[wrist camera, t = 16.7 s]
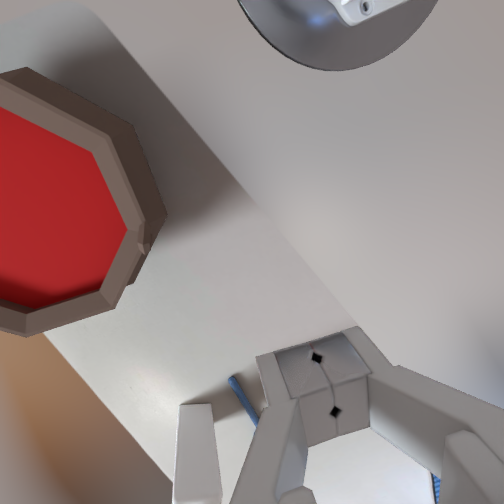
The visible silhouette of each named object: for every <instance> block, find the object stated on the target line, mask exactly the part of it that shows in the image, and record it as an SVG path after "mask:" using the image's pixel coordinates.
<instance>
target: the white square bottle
mask: <svg viewBox="0 0 504 504" xmlns="http://www.w3.org/2000/svg"><path fill="white" fill-rule="evenodd" d="M222 496H223V493H222V485H221V477H220V469H219V462H218V454H217V446H216V438H215V430H214V422H213V415H212V407H211V404H210V403H209V404H191V405H180V406H179V407H178V421H177V435H176V450H175V465H174V480H173V496H172V504H221V502H222Z"/></svg>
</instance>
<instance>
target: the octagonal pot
mask: <svg viewBox="0 0 504 504" xmlns="http://www.w3.org/2000/svg"><path fill="white" fill-rule="evenodd" d="M167 215H168V214H167V211H166V209H165V206H164V204H163V201H162V198H161V196H160V193H159V191H158V188H157V186H156V183H155V181H154V178H153V176H152V173H151V171H150V168H149V165H148V163H147V160H146V158H145V155H144V153H143V150H142V148H141V145H140V143H139V140H138V138H137V135H136V132H135V130H134V127H133V125H131V124H129V123H127V122H126V121H124V120H122V119H120V118H118V117H116V116H115V115H113V114H111V113H109V112H107V111H106V110H104V109H102V108H100V107H98V106H97V105H95V104H93V103H91V102H89V101H88V100H86V99H84V98H82V97H80V96H79V95H77V94H75V93H73V92H71V91H69V90H68V89H66V88H64V87H62V86H60V85H59V84H57V83H55V82H53V81H51V80H50V79H48V78H46V77H44V76H42V75H41V74H39V73H37V72H35V71H33V70H32V69H30V68H28V67H24V68H20V69H16V70H12V71H9V72H5V73H1V74H0V330H1V331H4V332H8V333H11V334H15V335H19V336H23V337H29V336H32V335H35V334H38V333H42V332H45V331H48V330H51V329H54V328H57V327H60V326H63V325H66V324H69V323H72V322H75V321H79V320H82V319H85V318H88V317H91V316H94V315H97V314H100V313H103V312H106V311H109V310H112V309H115V307H116V305H117V303H118V301H119V299H120V297H121V295H122V293H123V291H124V289H125V287H126V286H128V285H130V284H133V283H134V282H135V280H136V278H137V275H138V273H139V271H140V269H141V267H142V265H143V263H144V261H145V259H146V257H147V255H148V253H149V251H150V250H151V247H152V245H153V243H154V241H155V239H156V237H157V235H158V233H159V231H160V229H161V227H162V225H163V223H164V221H165V219H166V217H167Z"/></svg>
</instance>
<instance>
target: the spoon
mask: <svg viewBox="0 0 504 504" xmlns="http://www.w3.org/2000/svg"><path fill="white" fill-rule="evenodd" d="M228 381H229V384H230V385H231V387H232V389H233V390H234V392H235V393H236V395H237V397H238V398H239V400H240V402H241V403H242V405H243V406H244V408H245V410H246V411H247V413H248V415H249V416H250V418H251V420H252V421H253V423H254V424H255V426H256V428H257V425H258V422H259V418H258V416H257V415H256V413H255V411H254V410H253V408H252V406H251V405H250V403H249V401H248V400H247V398H246V396H245V395H244V393H243V391H242V390H241V388H240V386H239V385H238V383H237V381H236V379H235V378H234V377H230V378H229V380H228ZM254 434H255V432H254Z"/></svg>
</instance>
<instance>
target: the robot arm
mask: <svg viewBox="0 0 504 504" xmlns="http://www.w3.org/2000/svg"><path fill="white" fill-rule="evenodd" d="M328 1H329V2H331V3H332V4H333V5H334V6H335V8H336V10H337V11H338V13H339V14H340V16H341V17H342V19H343V20H344V21H345V22H346V23H347V24H348V25H350V26H356V25H358V24H360V23H362V22H365V21H367V20H369V19H371V18H373V17H375V16H377V15H380V14H382V13H384V12H386V11H388V10H390V9H392V8H395V7H397V6H399V5H401V4H403V3H405V2H408V1H410V0H328ZM363 4H364V5H365V6H366V11H364V10H363V8H362V6H363ZM256 363H257V367H258V371H259V374H260V378H261V382H262V386H263V390H264V394H265V397H266V401H267V405H268V407H266V408H263V411H262V414H261V417H260V420H259V422H258V425H257V428H256V431H255V434H254V436H253V439H252V442H251V445H250V448H249V450H248V453H247V456H246V459H245V462H244V464H243V467H242V470H241V473H240V476H239V478H238V481H237V484H236V487H235V489H234V492H233V495H232V498H231V501H230V503H229V504H317V503H316V500H315V498H314V495H313V492H312V490H310V489H308V488H306V487H304V486H303V483H304V476H305V469H306V462H307V456H308V447H311V446H314V445H317V444H319V443H322V442H325V441H327V440H330V439H333V438H335V437H338V436H341V435H345V434H348V433H351V432H355V431H358V430H361V429H365V428H368V427H371V429H372V430H373V431H375V432H376V433H377V434H379V435H380V436H382V437H383V438H384V439H386V440H387V441H388V442H390V443H391V444H393V445H394V446H395V447H397V448H398V449H399V450H401V451H402V452H404V453H405V454H406V455H408V456H409V457H411V458H412V459H413V460H415V461H416V462H417V463H419V464H420V465H422V466H423V467H424V468H426V469H427V470H429V471H430V472H431V473H433V474H434V475H435V476H437V477H438V478H440V479H441V483H440V493H439V503H438V504H504V409H502V408H500V407H497V406H495V405H492V404H490V403H488V402H485V401H483V400H480V399H478V398H476V397H473V396H471V395H469V394H466V393H464V392H462V391H459V390H457V389H454V388H452V387H449V386H447V385H445V384H442V383H440V382H438V381H435V380H433V379H431V378H428V377H426V376H423V375H421V374H419V373H416V372H414V371H411V370H409V369H407V368H404V367H402V366H400V365H398V366H394V367H393V366H392V364H391V363H390V362H389V361H388V360H387V359H386V357H385V356H384V355H383V354H382V353H381V351H380V350H379V349H378V348H377V347H376V346H375V344H374V343H373V342H372V341H371V340H370V339H369V337H368V336H367V335H366V334H365V333H364V332H363V330H362V329H361V328H360V327H358V326H355V327H352V328H349V329H346V330H343V331H340V332H337V333H334V334H331V335H328V336H324V337H321V338H318V339H315V340H312V341H308V342H306V343H302V344H298V345H295V346H291V347H288V348H284V349H280V350H277V351H273V352H271V353H267V354H264V355H260V356H256Z"/></svg>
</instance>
